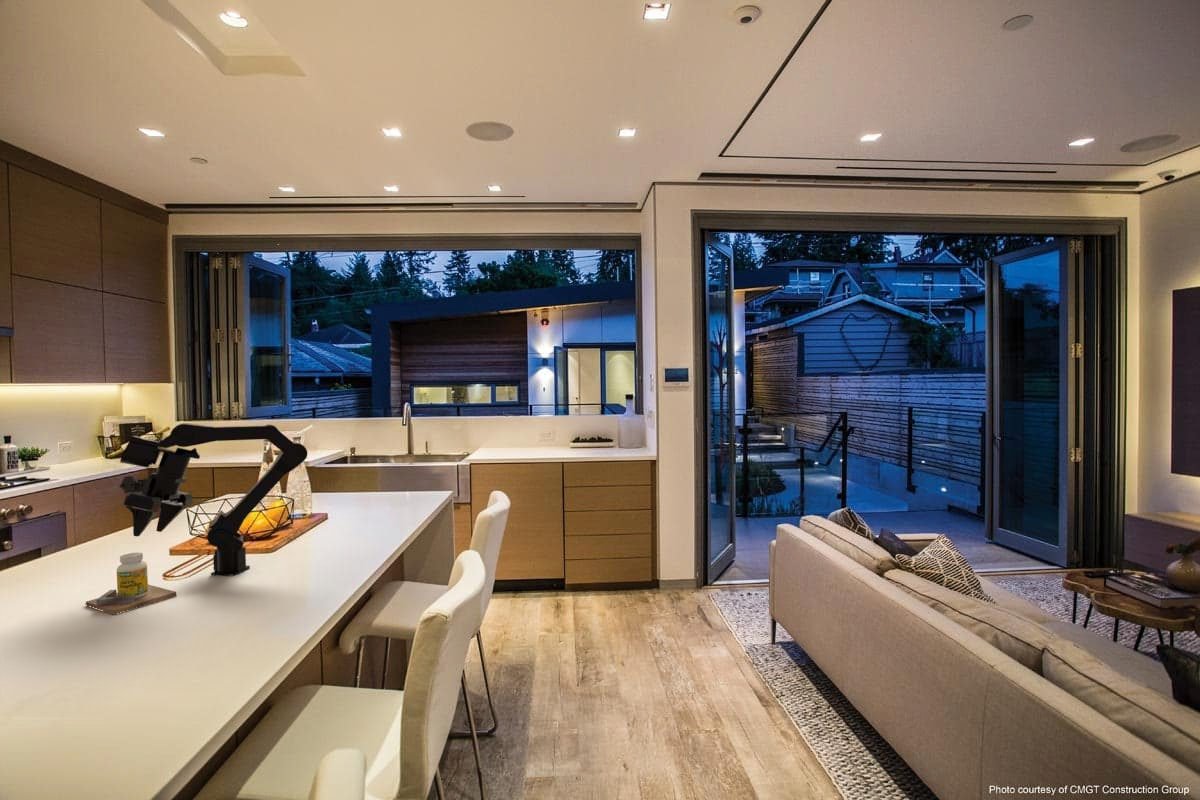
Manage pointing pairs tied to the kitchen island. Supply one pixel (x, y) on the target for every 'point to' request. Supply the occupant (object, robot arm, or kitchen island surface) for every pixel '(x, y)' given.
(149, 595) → the square wooden base plate
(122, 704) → the kitchen island surface
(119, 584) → the supplement bottle
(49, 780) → the kitchen island surface
